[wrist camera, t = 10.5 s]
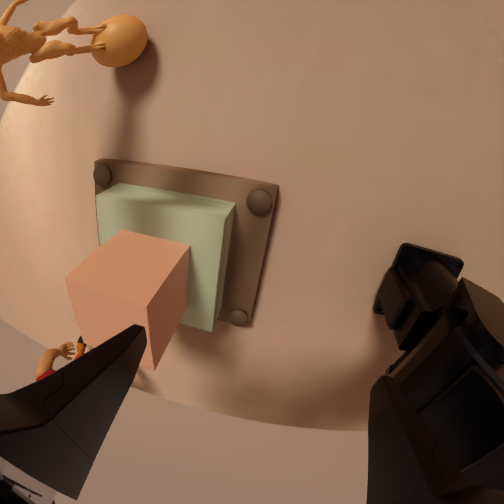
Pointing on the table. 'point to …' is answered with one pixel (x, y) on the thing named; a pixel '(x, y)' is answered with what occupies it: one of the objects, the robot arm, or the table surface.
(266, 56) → the table surface
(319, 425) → the table surface
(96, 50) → the figurine
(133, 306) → the terracotta brick
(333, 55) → the table surface
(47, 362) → the action figure
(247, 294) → the tower base
